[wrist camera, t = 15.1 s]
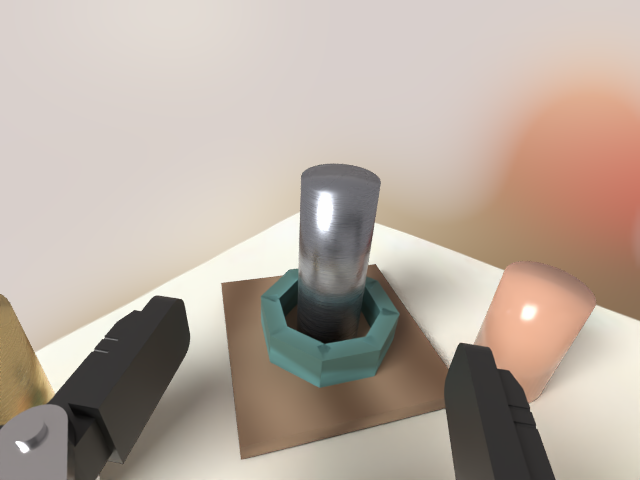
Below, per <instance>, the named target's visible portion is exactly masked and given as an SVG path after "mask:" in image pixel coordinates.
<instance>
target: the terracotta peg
mask: <svg viewBox="0 0 640 480" xmlns="http://www.w3.org/2000/svg"><path fill="white" fill-rule="evenodd" d="M595 305H596V299H595V296H594V295H593V293H592V291H591V290H590V289H589V288H588V287H587V286H586V285H585V284H584V283H583V282H581V281H580V280H579V279H577V278H576V277H574V276H573V275H571V274H569V273H567V272H565V271H563V270H561V269H558V268H556V267H553V266H550V265H546V264H543V263H538V262H530V261H520V262H514V263H512V264H510V265H508V266H507V267H506V269H505V271H504V273H503V276H502V278H501V280H500V283H499V285H498V288H497V290H496V292H495V295H494V297H493V299H492V302H491V304H490V307H489V309H488V311H487V314H486V316H485V318H484V321H483V323H482V326H481V328H480V330H479V333H478V335H477V337H476V340H475V342H474V345H479V346H485V347H489V348H490V349H491V350H492V353H493V356H494V359H495V363H496V366H497V369H504V370H509V371H510V372H511V373H512V375H513V376H514V377H515V379H516V380H517V381H518V383H519V384H520V385H521V386H522V388H523V389H524V392H525V395H526V398H527V401H528V403H529V402H532V401H534V400H536V399H537V398H538V397H539V396H540V394H541V393H542V391H543V389H544V388H545V386H546V385H547V383H548V381H549V380H550V378H551V377H552V375H553V373H554V372H555V370H556V369H557V367H558V365H559V364H560V362H561V361H562V359H563V357H564V356H565V354H566V352H567V351H568V349H569V348H570V346H571V344H572V343H573V341H574V340H575V338H576V336H577V335H578V333H579V332H580V330H581V328H582V327H583V325H584V324H585V322H586V320H587V319H588V317H589V316H590V314H591V312H592V311H593V309H594V308H595Z"/></svg>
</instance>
